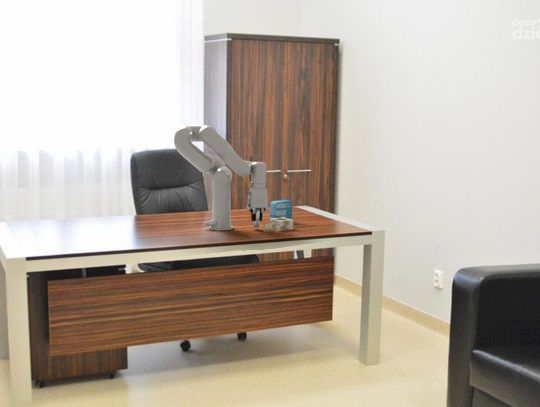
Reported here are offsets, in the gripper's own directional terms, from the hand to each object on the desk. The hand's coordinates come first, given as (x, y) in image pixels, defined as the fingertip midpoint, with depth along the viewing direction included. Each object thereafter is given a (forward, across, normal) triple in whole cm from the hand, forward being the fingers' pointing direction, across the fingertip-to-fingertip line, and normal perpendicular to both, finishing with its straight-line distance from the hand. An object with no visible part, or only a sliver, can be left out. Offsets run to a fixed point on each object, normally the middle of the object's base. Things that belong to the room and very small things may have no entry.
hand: (256, 220), depth 375 cm
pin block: (+4, +12, -5) cm, 14 cm away
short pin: (+5, +1, -9) cm, 10 cm away
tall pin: (+3, 0, 0) cm, 3 cm away
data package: (+5, +22, +10) cm, 25 cm away
